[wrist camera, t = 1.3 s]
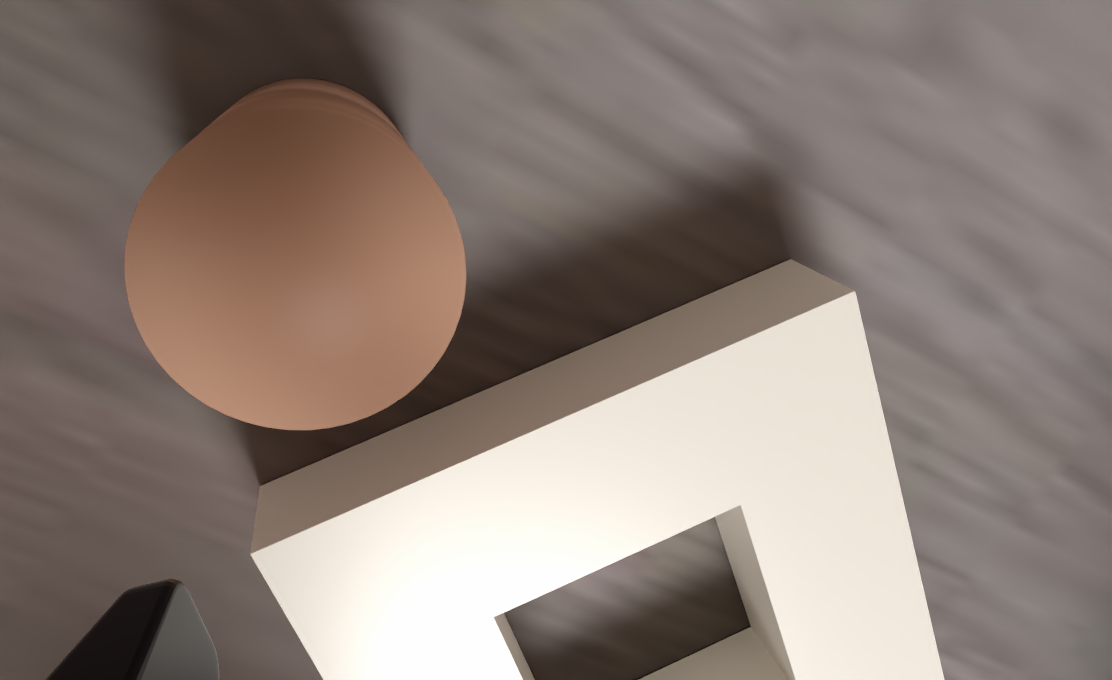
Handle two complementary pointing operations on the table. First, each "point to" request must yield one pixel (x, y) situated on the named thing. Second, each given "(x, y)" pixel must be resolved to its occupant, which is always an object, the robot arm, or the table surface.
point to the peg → (296, 261)
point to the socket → (622, 501)
